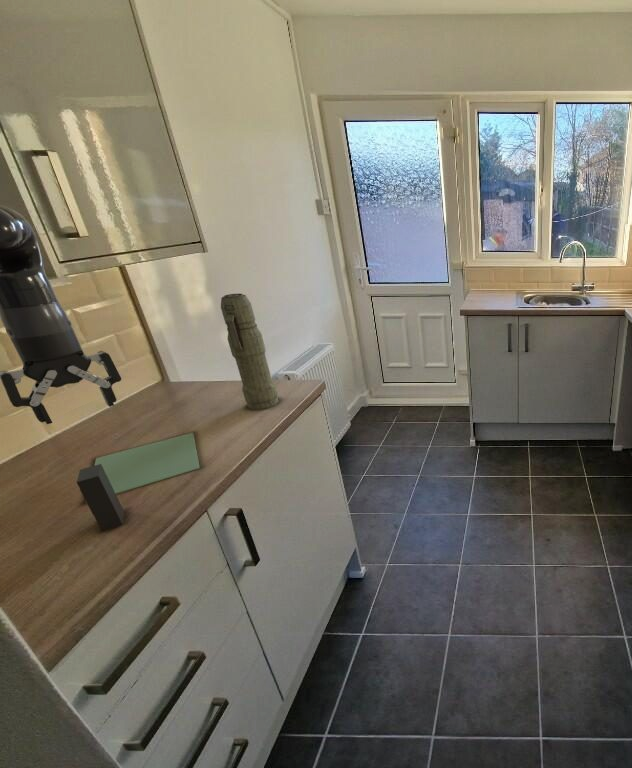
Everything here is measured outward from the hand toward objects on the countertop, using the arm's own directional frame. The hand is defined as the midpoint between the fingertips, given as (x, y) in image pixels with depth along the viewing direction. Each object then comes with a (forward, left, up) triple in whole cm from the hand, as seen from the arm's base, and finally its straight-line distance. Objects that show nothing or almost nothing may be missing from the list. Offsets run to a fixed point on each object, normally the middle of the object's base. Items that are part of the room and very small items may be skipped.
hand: (80, 413), depth 78 cm
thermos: (+32, +38, -23) cm, 55 cm away
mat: (+3, +19, -23) cm, 30 cm away
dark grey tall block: (-2, -3, -23) cm, 23 cm away
